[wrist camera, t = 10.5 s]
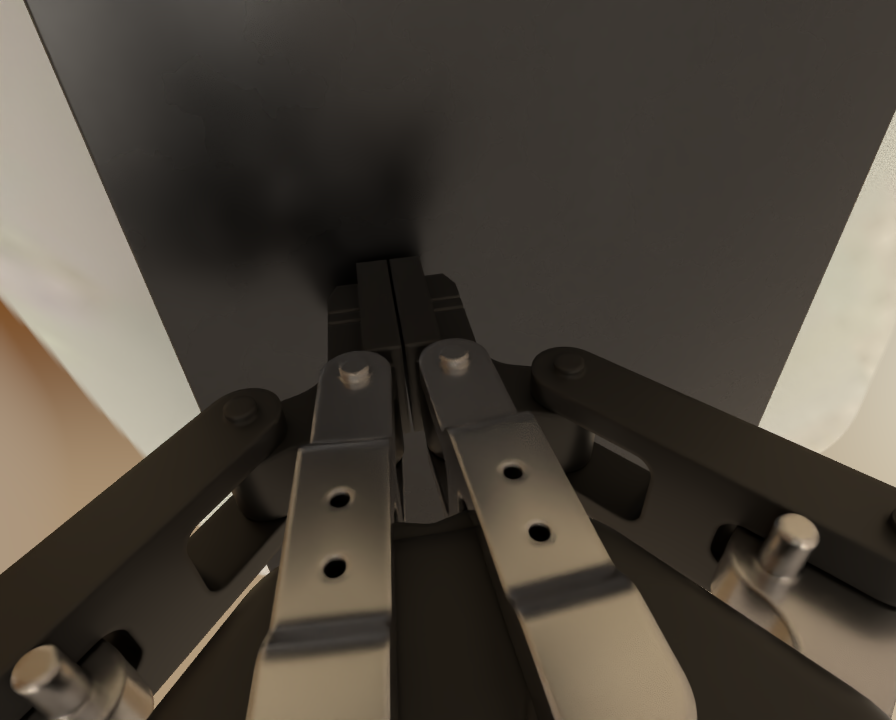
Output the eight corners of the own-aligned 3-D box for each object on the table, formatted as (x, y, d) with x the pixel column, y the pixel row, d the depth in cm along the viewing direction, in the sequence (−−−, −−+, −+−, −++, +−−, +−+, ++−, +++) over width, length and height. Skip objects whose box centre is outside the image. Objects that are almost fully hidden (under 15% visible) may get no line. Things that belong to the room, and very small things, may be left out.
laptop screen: (287, 598, 21) (290, 620, 21) (-342, -909, 5) (-428, -1039, 4) (726, 455, 26) (740, 469, 25) (1137, -564, 10) (1208, -602, 9)
